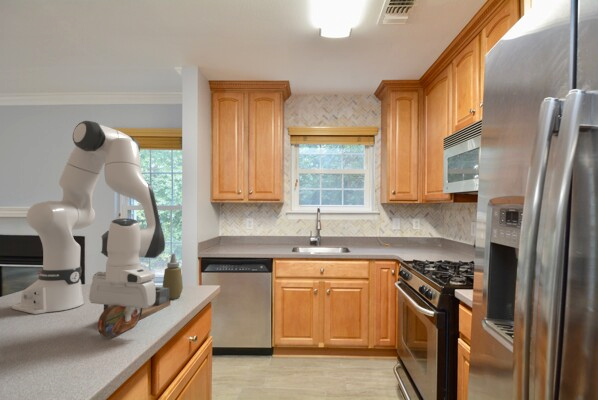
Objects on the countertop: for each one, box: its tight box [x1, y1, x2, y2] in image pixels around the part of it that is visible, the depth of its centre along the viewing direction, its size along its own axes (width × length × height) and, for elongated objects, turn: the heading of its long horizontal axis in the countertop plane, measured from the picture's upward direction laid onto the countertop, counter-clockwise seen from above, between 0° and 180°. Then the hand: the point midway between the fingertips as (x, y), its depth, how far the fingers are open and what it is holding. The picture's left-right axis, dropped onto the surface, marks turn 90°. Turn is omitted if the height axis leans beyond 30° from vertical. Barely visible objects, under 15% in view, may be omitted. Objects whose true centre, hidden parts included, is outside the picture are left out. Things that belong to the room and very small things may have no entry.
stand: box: [103, 286, 171, 321], centre depth 110 cm, size 10×22×6 cm, turn 169°
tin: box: [97, 305, 142, 338], centre depth 93 cm, size 15×3×8 cm, turn 168°
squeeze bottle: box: [162, 253, 184, 300], centre depth 130 cm, size 8×8×18 cm
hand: (121, 320), depth 93 cm, fingers closed on tin, 2 cm apart
